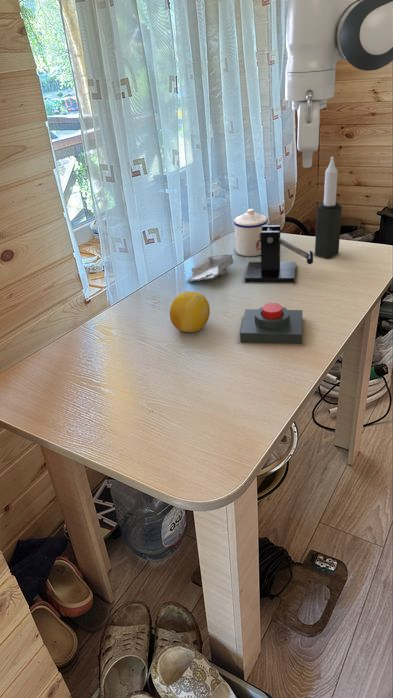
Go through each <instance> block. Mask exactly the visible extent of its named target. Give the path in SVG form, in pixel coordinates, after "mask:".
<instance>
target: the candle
mask: <svg viewBox="0 0 393 698" xmlns="http://www.w3.org/2000/svg"><path fill="white" fill-rule="evenodd" d="M324 173H325V174H324V192H323V201H322V203H320V205H319V206H317V207H316V218H315V219H316V222H315V223H316V224H315V240H314V241H315V243H314V255H315V256H316V257H319V258H323V259H332V258H334V257H335V256H338V255H339V253H340V237H341V226H342V225H341V223H342V211H343V206H342V205H341V204H339V202H337V188H338V176H339V175H338V174H339V171H338V169H337V167H336V164H335V157H334V156H330V161H329V164H328V167H327V168H326V170H325V171H324Z"/></svg>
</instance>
